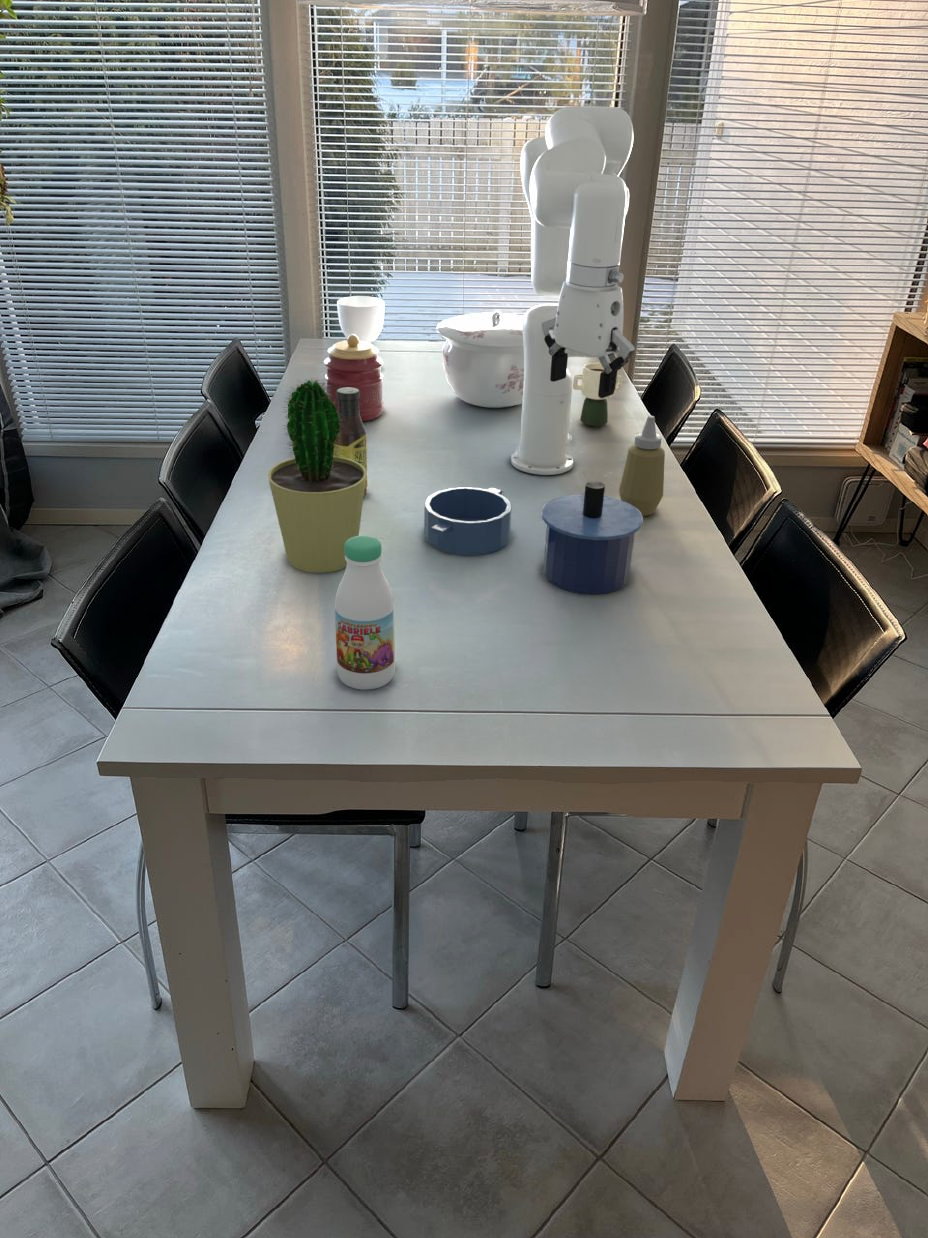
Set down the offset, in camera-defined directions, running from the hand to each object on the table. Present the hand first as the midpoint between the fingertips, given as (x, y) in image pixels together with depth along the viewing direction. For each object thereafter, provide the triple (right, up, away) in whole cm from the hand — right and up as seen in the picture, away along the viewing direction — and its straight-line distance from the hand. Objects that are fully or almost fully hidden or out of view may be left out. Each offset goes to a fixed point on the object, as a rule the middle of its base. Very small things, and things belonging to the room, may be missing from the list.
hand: (581, 387), depth 151 cm
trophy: (+11, +8, +67) cm, 68 cm away
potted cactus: (-42, -26, +8) cm, 50 cm away
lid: (+2, -20, 0) cm, 20 cm away
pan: (-18, -22, +16) cm, 33 cm away
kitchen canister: (-43, +10, +68) cm, 82 cm away
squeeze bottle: (+14, -16, +27) cm, 35 cm away
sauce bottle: (-40, -13, +30) cm, 51 cm away
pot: (+1, -29, +6) cm, 29 cm away
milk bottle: (-32, -44, -21) cm, 58 cm away
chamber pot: (-11, +16, +79) cm, 82 cm away
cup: (-44, +28, +97) cm, 110 cm away
